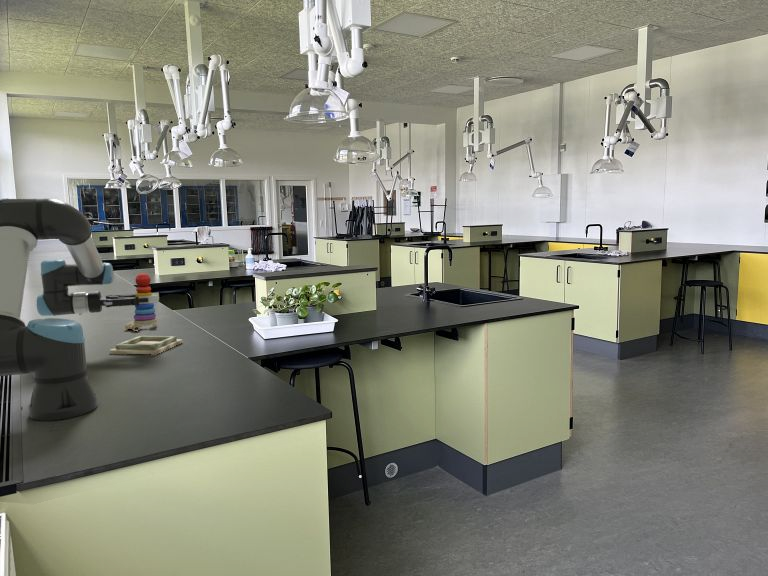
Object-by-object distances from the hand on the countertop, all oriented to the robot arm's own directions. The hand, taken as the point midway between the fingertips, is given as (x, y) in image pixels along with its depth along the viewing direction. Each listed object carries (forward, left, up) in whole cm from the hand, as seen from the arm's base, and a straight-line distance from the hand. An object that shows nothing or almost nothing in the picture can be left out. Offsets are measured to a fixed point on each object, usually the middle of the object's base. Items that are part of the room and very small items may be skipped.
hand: (158, 297), depth 205 cm
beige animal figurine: (+30, +27, -19) cm, 45 cm away
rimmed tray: (-3, +4, -19) cm, 19 cm away
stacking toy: (-3, +4, -10) cm, 11 cm away
